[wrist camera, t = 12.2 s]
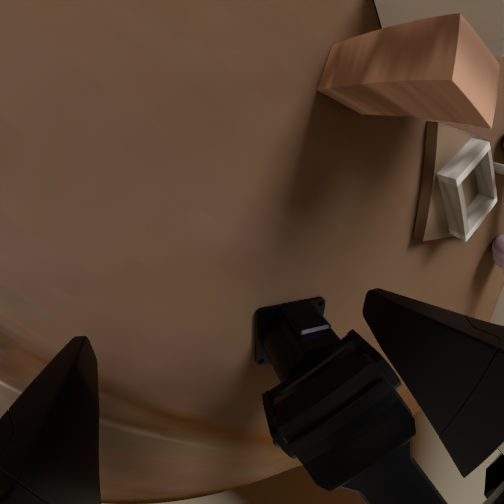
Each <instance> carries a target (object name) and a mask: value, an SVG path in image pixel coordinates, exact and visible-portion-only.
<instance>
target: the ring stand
mask: <svg viewBox="0 0 504 504" xmlns="http://www.w3.org/2000/svg"><path fill="white" fill-rule="evenodd" d="M494 172H496V173H499V174H502V175H504V165H503V164H500V163H497V162H493V160H492V154H491V148H490V141H488V140H486V139H483V138H481V137H478V136H475V135H473V134H470V133H467V132H465V131H462V130H459V129H456V128H453V127H450V126H447V125H444V124H441V123H438V122H430V121H427V127H426V144H425V157H424V167H423V176H422V185H421V192H420V199H419V206H418V212H417V218H416V224H415V229H414V234H413V236H414V237H416V238H418V239H420V240H422V241H428V240H434V239H441V238H447V237H453V236H455V237H457V238H459V239H461V240H463V241H465V242H466V241H467V240H468V239H469V238H470V236H471V235H472V234H473V233H476V231H477V228H478V226H479V225H480V224H481V223H482V221H483V220H484V219H485V217H486V216H487V215H488V213H489V212H490V211H491V209H492V208H493V207H494V205H495V204H496V202H497V192H496V182H495V174H494Z"/></svg>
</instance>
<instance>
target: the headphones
mask: <svg viewBox="0 0 504 504" xmlns="http://www.w3.org/2000/svg"><path fill="white" fill-rule="evenodd" d="M503 147H504V141H503ZM492 252H493V260H494V262H495V263H496V264H497V265H498V266H499V267H501V268H502V269H504V234H502V235H499V236H498V237H497V238H496V239H495V240H494V241H493V244H492Z"/></svg>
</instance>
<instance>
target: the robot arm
mask: <svg viewBox="0 0 504 504" xmlns="http://www.w3.org/2000/svg"><path fill="white" fill-rule="evenodd" d="M320 301H321V302H320ZM319 302H320V303H319ZM318 303H319V304H318ZM324 308H325V300H324V299H323V298H322V297H316V298H311V299H304V300H299V301H294V302H288V303H283V304H279V305H274V306H268V307H263V308H259V309H258V310H257V311H256V337H255V361H256V363H257V364H259V365H261V364H266V363H271V364H272V366H273V368H274V370H275V372H276V374H277V376H278V378H279V380H280V382H281V383H280V384H279V385H277V386H276V387H274V388H273V389H271V390H270V391H266V392H265V393H263V394H262V398H263V405H264V410H265V414H266V418H267V422H268V426H269V430H270V434H271V436H272V438H273V443H274V445H275V446H276V447H278V448H282V450H283V451H284V452H285V453H286V454H287V455H288V456H290V457H291V458H293V459H297V458H298V459H299V461H300V462H301V463H302V464H303V466H304V467H305V468H306V470H307V471H308V473H309V474H310V476H311V477H312V479H313V480H314V481H315V483H316V484H317V485H318V486H320V487H322V488H324V489H326V490H328V491H333V490H335V489H337V488H339V487H340V488H344V489H347V490H350V491H354V492H357V493H359V494H360V495H361V496H362V498H363V499H364V500H365V501H366V502H367V504H447V502H446V501H445V500H444V498H443V497H442V496H441V494H440V493H439V492H438V490H437V489H436V488H435V486H434V485H433V484H432V482H431V481H430V480H429V479H428V477H427V476H426V474H425V473H424V472H423V470H422V469H421V468H420V466H419V465H418V464H417V463H416V461H415V460H414V458H413V457H412V438H413V436H415V435H416V429H415V421H414V418H413V417H412V413H411V411H410V409H409V408H408V406H407V405H406V404H405V402H404V401H403V399H402V398H401V397H400V395H399V394H398V393H397V391H396V390H398V389H399V388H400V387H401V386H402V384H401V381H400V380H399V378H398V376H397V375H396V373H395V372H394V370H393V369H392V368H391V366H390V365H389V364H388V362H387V361H386V360H385V359H384V358H383V357H382V356H381V355H380V353H378V352H377V351H376V350H375V349H374V348H373V347H372V346H371V345H370V344H369V343H368V342H366V341H365V340H364V339H363V338H362V337H361V336H360V335H359V334H357V333H356V332H355V331H354V330H353V329H352V330H351V331H349V332H348V333H347V335H346V336H345V337H344V338H342V339H340V338H339V337H338V336H337V335H336V334H335V332H334V331H333V330H332V329H331V325H330V324H329V323H328V321H327V320H326V319H325V318H324V317H323V314H324ZM261 313H264V314H263V315H260V314H261ZM363 316H364V318H365V320H366V322H367V324H368V325H369V327H370V329H371V331H372V333H373V334H374V336H375V338H376V340H377V342H378V343H379V345H380V347H381V349H382V350H383V352H384V353H385V355H386V356H387V358H388V359H389V361H390V362H391V363H392V365H393V366H394V368H395V369H396V371H397V372H398V374H399V375H400V377H401V378H402V380H403V381H404V383H405V384H406V386H407V387H408V389H409V390H410V392H411V393H412V395H413V396H414V398H415V399H416V401H417V403H418V404H419V406H420V407H421V409H422V410H423V412H424V413H425V415H426V417H427V418H428V420H429V421H430V423H431V425H432V426H433V428H434V429H435V431H436V432H437V434H438V435H439V438H440V440H441V441H442V443H443V444H444V446H445V448H446V449H447V451H448V453H449V454H450V456H451V458H452V459H453V461H454V463H455V465H456V466H457V468H458V470H459V471H460V473H461V475H462V476H463V477H464V478H465V477H466V476H467V475H468V474H470V473H471V472H472V471H473V470H474V469H475V468H477V467H478V466H479V465H480V464H481V463H482V462H483V461H484V460H486V459H487V458H488V457H489V456H490V455H491V454H492V453H493V452H494V451H495V450H496V449H498V450H499V451H500V452H501V453H500V454H499V455H498V457H497V458H496V459H495V460H494V461H493V462H492V463H491V464H490V465H489V466H488V467H487V469H486V479H485V491H484V495H485V497H486V498H487V500H486V501H485V502H484V503H483V504H504V326H501V325H496V324H493V323H489V322H485V321H482V320H479V319H475V318H472V317H469V316H466V315H465V316H464V315H462V314H459V313H456V312H453V311H450V310H446V309H443V308H440V307H437V306H434V305H430V304H427V303H424V302H421V301H418V300H414V299H411V298H408V297H405V296H402V295H398V294H395V293H392V292H389V291H386V290H382V289H379V288H376V289H372V290H369V291H368V292H367V294H366V298H365V302H364V306H363ZM260 359H261V360H260ZM0 504H101V494H100V479H99V394H98V370H97V359H96V356H95V353H94V351H93V349H92V346H91V344H90V341H89V339H88V337H86V336H78V337H74V338H72V340H71V341H70V342H69V343H68V344H67V345H66V346H65V347H64V348H63V349H62V350H61V351H60V352H59V353H58V354H57V355H56V356H55V357H54V358H53V359H52V361H51V362H50V363H49V364H48V365H47V366H46V367H45V368H44V369H43V370H42V371H41V372H40V374H39V375H38V376H37V377H36V378H35V379H34V380H33V381H32V382H31V384H30V385H29V386H28V387H27V388H26V389H25V390H24V392H23V393H22V394H21V395H20V396H19V397H18V398H17V400H16V401H15V402H14V403H13V404H12V405H11V407H10V408H9V410H7V411H6V413H5V414H4V415H3V416H2V417H1V419H0Z"/></svg>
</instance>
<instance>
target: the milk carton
mask: <svg viewBox="0 0 504 504" xmlns="http://www.w3.org/2000/svg"><path fill="white" fill-rule="evenodd" d="M374 2H375V6H376V9H377V12H378V16H379V19H380V23H381V27H382V29H383V28H386V27H390V26H394V25H398V24H402V23H407V22H411V21H416V20H420V19H426V18H431V17H437V16H443V15H449V14H457V13H461V14H462V16H463V17H464V18H465V19H466V20H467V22H468V23H469V24H470V25H471V27H472V28H473V29H474V30H475V32H476V33H477V34H478V35H479V37H480V38H481V39H482V41H483V42H484V44H485V45H486V46H487V48H488V49H489V51H490V52H491V53H492V55H493V56H504V0H374Z"/></svg>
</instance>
